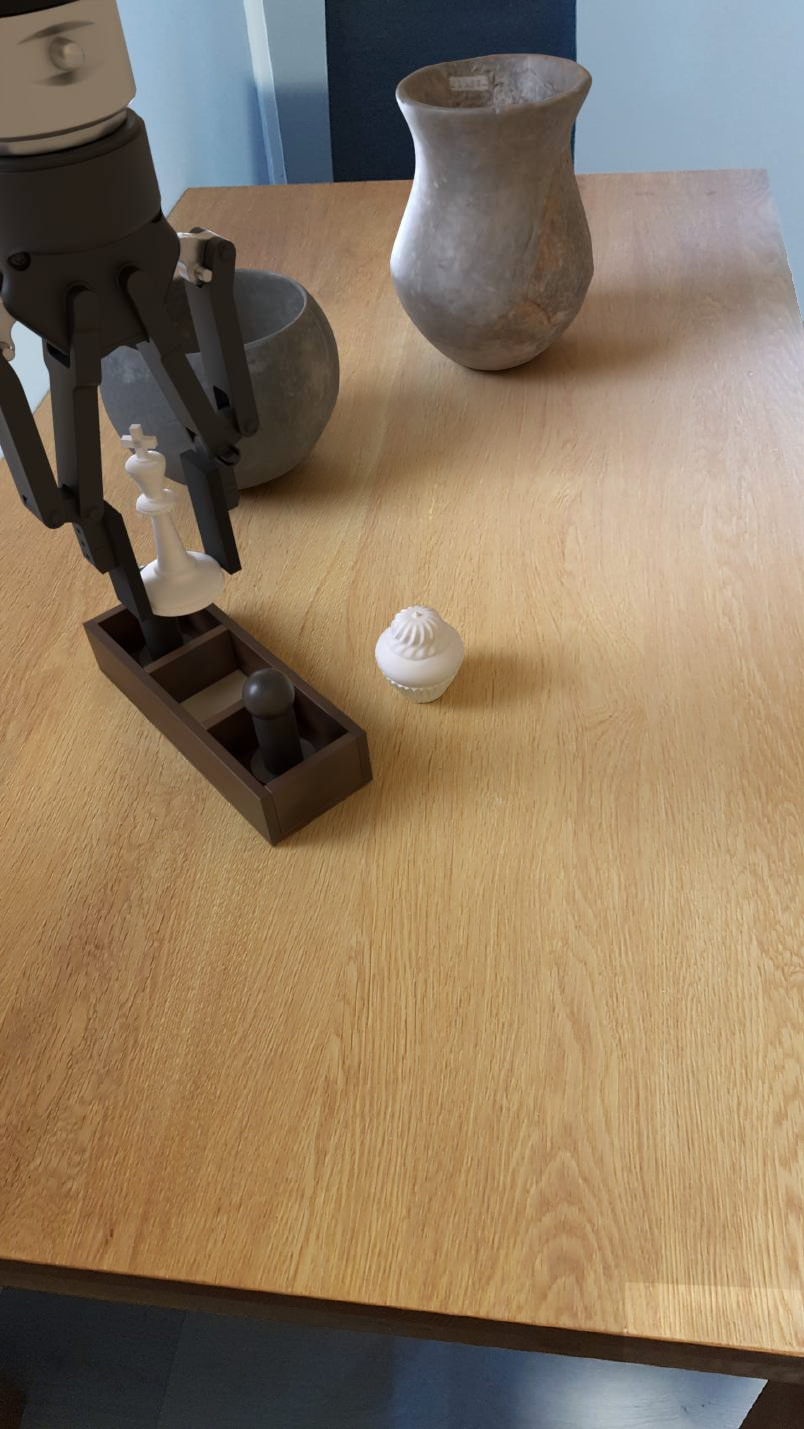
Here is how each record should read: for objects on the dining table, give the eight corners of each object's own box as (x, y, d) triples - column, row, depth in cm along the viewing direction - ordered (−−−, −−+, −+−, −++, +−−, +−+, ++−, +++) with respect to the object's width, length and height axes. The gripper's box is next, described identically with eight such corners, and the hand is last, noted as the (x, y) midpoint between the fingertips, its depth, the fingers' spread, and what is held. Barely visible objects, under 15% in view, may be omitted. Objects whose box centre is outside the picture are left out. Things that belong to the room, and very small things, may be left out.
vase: (362, 354, 112) (332, 86, 94) (501, 294, 119) (498, 35, 101) (485, 425, 100) (478, 135, 82) (631, 354, 107) (654, 73, 90)
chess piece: (154, 558, 61) (106, 399, 54) (236, 562, 60) (198, 401, 53) (123, 614, 58) (67, 452, 51) (210, 619, 57) (165, 456, 50)
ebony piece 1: (161, 694, 77) (130, 599, 71) (131, 664, 79) (98, 569, 73) (213, 665, 79) (186, 569, 72) (182, 636, 81) (153, 541, 75)
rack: (273, 847, 67) (260, 800, 64) (99, 670, 80) (81, 623, 77) (373, 780, 70) (366, 731, 67) (191, 620, 83) (178, 573, 80)
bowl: (339, 528, 90) (314, 362, 80) (103, 535, 92) (48, 373, 82) (360, 405, 104) (342, 249, 94) (156, 413, 107) (115, 262, 96)
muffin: (416, 647, 79) (409, 571, 74) (483, 679, 76) (481, 603, 71) (361, 695, 76) (350, 620, 71) (429, 731, 73) (423, 655, 68)
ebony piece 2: (278, 809, 68) (254, 712, 62) (240, 771, 71) (213, 675, 65) (333, 773, 70) (315, 675, 64) (294, 738, 73) (273, 640, 66)
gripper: (-143, 215, 37) (63, 698, 53) (285, 80, 44) (350, 543, 60) (-209, 167, 41) (1, 627, 58) (191, 51, 48) (276, 490, 65)
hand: (180, 583), depth 59 cm, fingers closed on chess piece, 5 cm apart
